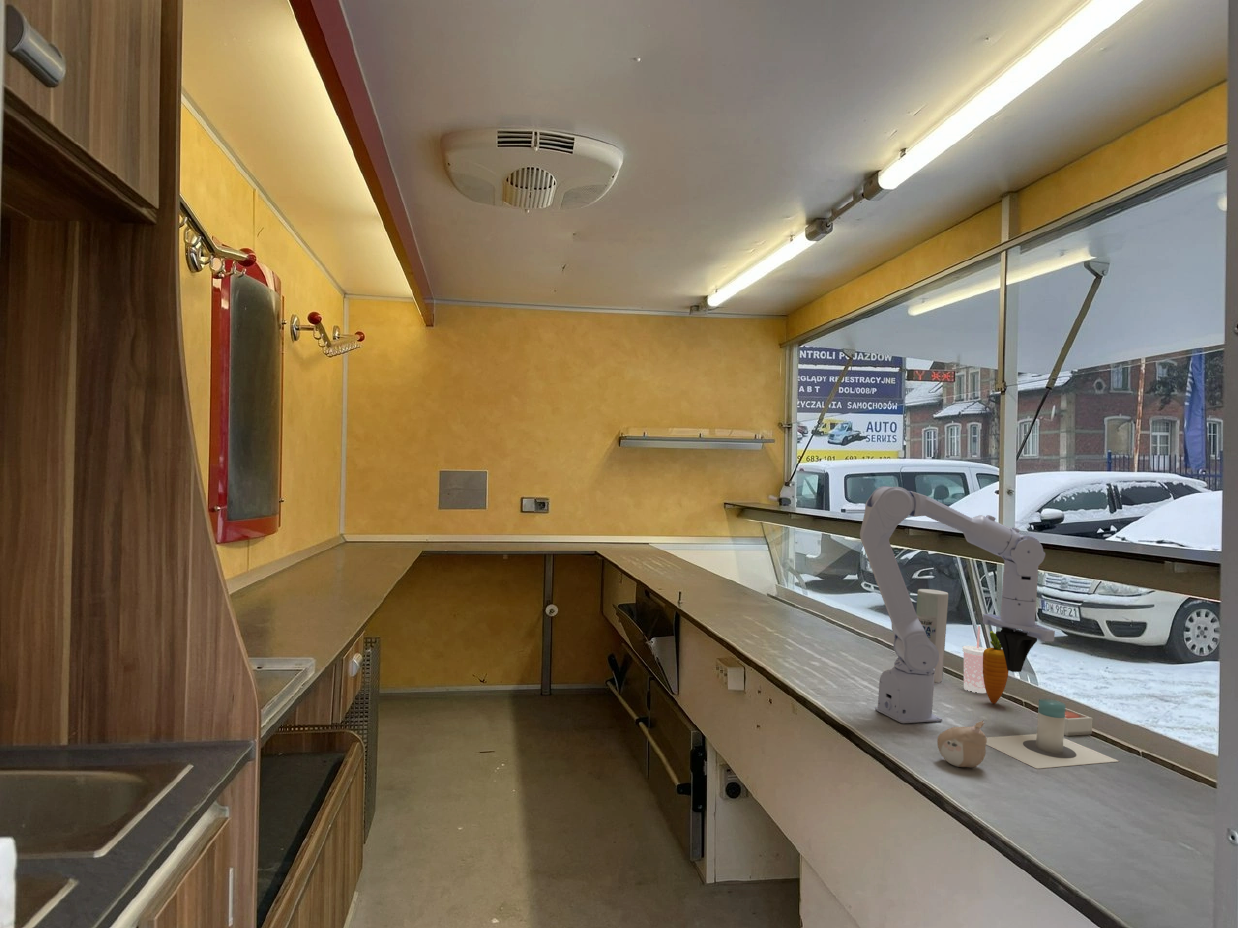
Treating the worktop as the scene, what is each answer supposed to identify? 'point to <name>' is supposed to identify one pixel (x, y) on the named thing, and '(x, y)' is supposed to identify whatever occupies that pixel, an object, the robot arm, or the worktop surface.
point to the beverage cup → (974, 667)
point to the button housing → (1077, 724)
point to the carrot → (994, 669)
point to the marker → (1050, 725)
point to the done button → (1070, 715)
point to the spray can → (934, 622)
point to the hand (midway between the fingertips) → (1014, 670)
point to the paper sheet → (1031, 755)
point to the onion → (963, 745)
